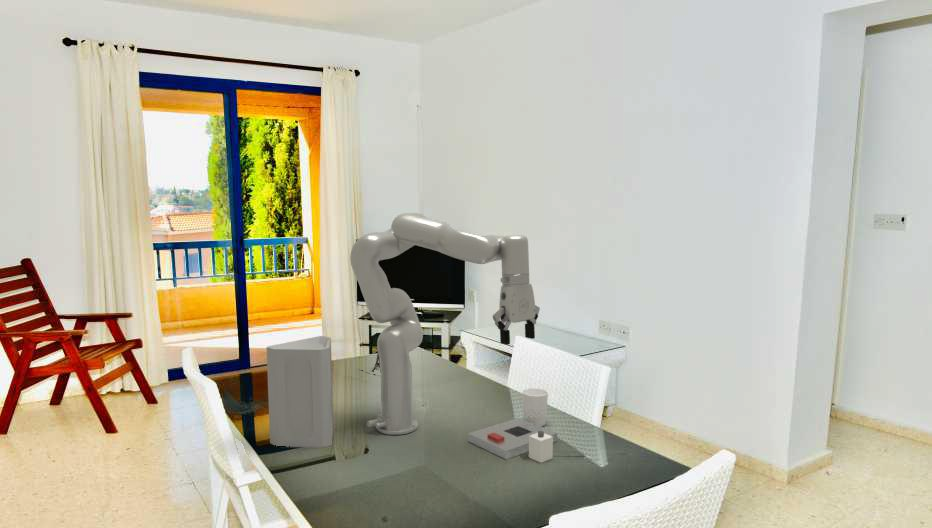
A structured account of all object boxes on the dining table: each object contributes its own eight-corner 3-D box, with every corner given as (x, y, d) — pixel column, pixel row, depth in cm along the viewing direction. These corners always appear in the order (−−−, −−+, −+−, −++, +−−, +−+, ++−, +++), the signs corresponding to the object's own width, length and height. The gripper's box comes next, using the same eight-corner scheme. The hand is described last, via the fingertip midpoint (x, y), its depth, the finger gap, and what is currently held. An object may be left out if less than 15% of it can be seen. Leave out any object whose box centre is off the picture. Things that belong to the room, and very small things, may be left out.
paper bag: (298, 456, 162) (294, 355, 159) (268, 442, 172) (265, 346, 169) (354, 436, 176) (352, 342, 174) (324, 424, 186) (322, 335, 183)
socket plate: (506, 459, 160) (506, 447, 159) (468, 441, 172) (468, 430, 172) (557, 440, 172) (557, 430, 172) (518, 425, 185) (518, 415, 184)
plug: (540, 463, 158) (541, 436, 157) (528, 457, 161) (528, 431, 160) (552, 458, 160) (552, 432, 160) (540, 453, 164) (540, 427, 163)
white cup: (546, 428, 181) (547, 396, 181) (520, 427, 183) (520, 395, 182) (548, 419, 189) (548, 388, 188) (523, 418, 191) (523, 387, 190)
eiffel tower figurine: (357, 370, 248) (356, 339, 247) (377, 366, 255) (377, 335, 254) (377, 378, 237) (376, 345, 236) (398, 373, 244) (397, 341, 242)
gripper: (502, 284, 158) (504, 348, 159) (547, 277, 169) (548, 337, 170) (483, 282, 163) (485, 344, 165) (527, 276, 174) (529, 334, 176)
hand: (517, 340), depth 167 cm, fingers open, 9 cm apart
